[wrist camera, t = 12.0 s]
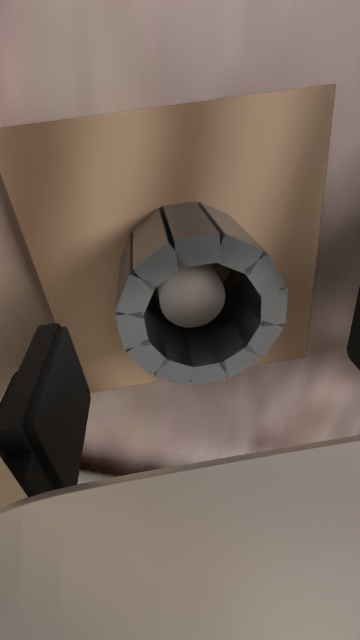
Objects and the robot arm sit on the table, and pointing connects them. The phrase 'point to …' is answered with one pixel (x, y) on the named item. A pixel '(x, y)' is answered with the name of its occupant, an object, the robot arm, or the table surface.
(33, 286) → the table surface
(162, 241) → the grey hollow cylinder
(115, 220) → the shaft base
